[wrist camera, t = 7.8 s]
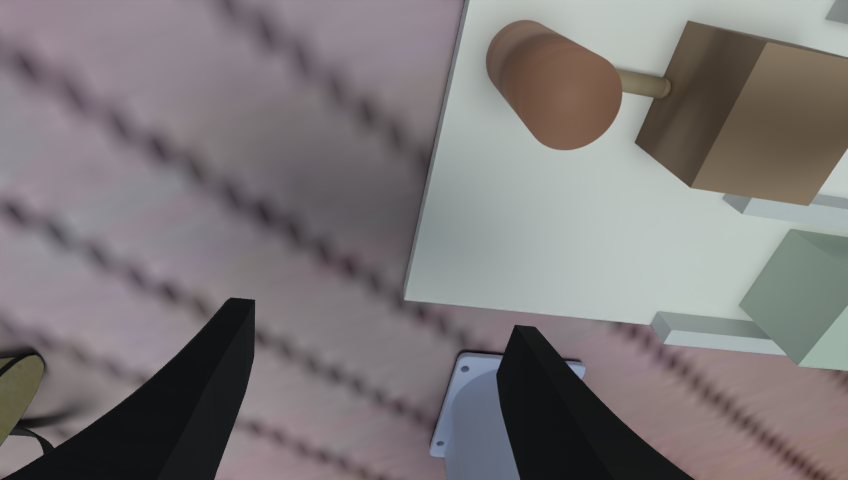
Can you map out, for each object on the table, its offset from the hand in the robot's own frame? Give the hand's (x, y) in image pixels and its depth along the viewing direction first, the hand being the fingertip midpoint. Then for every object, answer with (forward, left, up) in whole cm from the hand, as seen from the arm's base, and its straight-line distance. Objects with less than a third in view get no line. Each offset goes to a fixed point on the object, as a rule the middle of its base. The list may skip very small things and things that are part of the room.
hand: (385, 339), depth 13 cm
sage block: (-1, -23, -9) cm, 25 cm away
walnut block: (+6, -9, -9) cm, 15 cm away
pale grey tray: (+3, -15, -10) cm, 18 cm away
